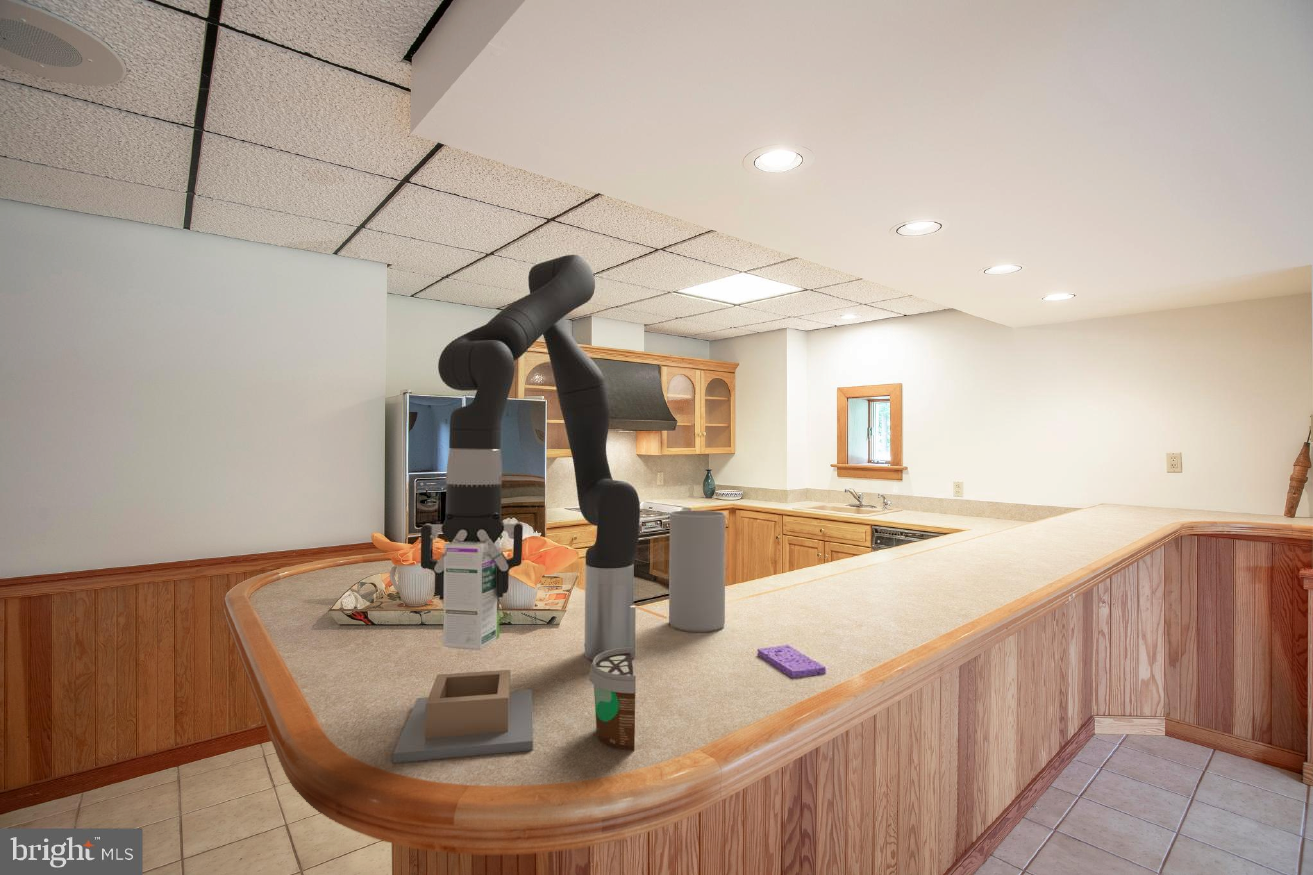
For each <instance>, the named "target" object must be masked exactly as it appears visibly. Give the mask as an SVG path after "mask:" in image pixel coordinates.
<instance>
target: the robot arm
mask: <svg viewBox="0 0 1313 875" xmlns="http://www.w3.org/2000/svg"><path fill="white" fill-rule="evenodd" d="M528 272H529V273H528V277H527V278H528V279H527V280H528V290H529V294H526V295H524V296H523V297H521V298H519V299H517V300H516V301H515V300H514V301H513V302H512V303H510V304H508V305H507V306H506V307H505V308H503V309H501V311H499V312H498V313H497V314H496V315H495V316H493V317H492V318H491V319H490V320H489V321H488V322H487V323H486V324H483V325H482V326H480V327H477V328H474V329H472V330H470V331H469V332H466V333H465V334H462V335H461V336H458V337H457V338H455V339H453V340H452V341H451V342H449V343H448V344H447V345H446V346H445V347H444V348H443V350H442V351H441V353H440V355H439V358H438V363H437V369H438V374H439V377H440V379H441V381H442V382H443V383H444V384H445V385H446V386H447V387H449V388H450V389H453V390H455V391H461V392H463V391H464V392H465V391H467V392H468V391H469V392H470V391H476V392H475V395H474V397H473V399H472V401H471V402H470V403H469V404H467V405H464V406H462V407H458V408H455V409H454V410H452V412H451V414H450V419H449V434H448V435H449V439H448V440H449V442H448V444H449V445H448V447H449V450H448V457H447V463H446V473H445V481H446V488H445V489H446V490H445V491H446V493H445V495H446V496H445V520H444V521H443V523H442V524H440V523H439V524H432V523H430V522H429V523H428V522H427V523H425V524H424V525H423V526H422V527H421V528H420V567H421V568H422V569H424V570H426V569H427V570H430V571H432V572H434V594H435V596H438V597H439V601H440V600H443V601H444V556H447V550H446V551H445V553H444V552H443V554H442V556H441V557H440V559H439V560H437V559H435V558H433V557H434V552H433V551H434V545H433V544H434V540H436V539H437V538H438V537H439V533H441V532H442V534H443V536H444V537H445V538H446V539H447V540H448V543H456V542H463V541H481V542H485V543H488V544H490V545H488V550H489V554H490V555H491V557H492V558H493V559H494V560H495V562H496V563H497V565H498V567H499V568H500V569H499V571H498V597H499V598H504V594H508V591H509V585H510V584H509V583H510V582H509V579H510V578H509V576H510V570H511V569H512V568H515V567H519V566H521V565H522V560H523V559H522V556H523V536H524V535H523V534H524V533H523V531H524V525H523V523H522V522H520V521H517V522H516V523H504V522H503V519H502V490H503V489H502V485H503V484H502V483H503V482H502V481H503V480H502V479H503V462H502V454H501V453H502V452H501V450H502V449H501V446H502V445H501V442H502V441H501V440H502V438H501V436H502V420H503V416H504V413H505V409H506V405H507V402H508V399H509V394H510V391H511V389H512V385H513V382H514V379H515V378H514V377H515V370H516V368H515V367H516V366H515V361H517V360H518V359H520V358H521V357H522V356H523V355H524V354H525V353H526V352H527V351H528V349H530V348H531V347H532V345H534V344H535V342H536V341H537V340H538V339H539V338H541V336H543V339H544V342H545V343H544V344H545V346H546V349H547V353H548V357H549V361H550V364H551V370H552V373H553V377H554V382H555V383H554V384H555V388H556V393H557V397H558V398H557V399H558V402H559V407H560V410H561V416H562V419H563V422H564V427H565V430H566V435H567V436H566V437H567V440H568V445H569V448H570V452H571V458H572V463H573V470H574V476H575V484H576V494H577V502H578V505H579V510H580V512H581V515H582V516H583V518H584V519H585V520H586V521H587V522H588V523H589V524H591V525H593V526H596V537H595V538H596V539H595V542H594V544H593V545H591V546H590V547H588V548H587V549H586V551H585V568H584V569H585V570H584V571H585V575H584V576H585V578H584V580H585V581H584V584H585V585H584V588H585V589H584V643H583V644H584V645H583V647H584V656H585V658H587V659H588V660H591V661H593V660H594V658H595V657H596V656H597V655H599V654H601V653H603V652H605V651H609V650H613V649H618V648H628V647H632V659H635V658H636V610H637V609H636V605H635V604H634V583H635V582H634V578H635V577H634V574H635V573H634V569H635V568H634V566H635V564H634V563H635V555H636V552H637V550H638V547H639V538H640V522H641V521H640V520H641V518H640V516H641V507H640V506H641V503H640V498H639V494H638V492H637V490H636V489H635V487H634V486H633V485H632V484H631V483H628V482H627V481H624V480H615V479H613V476H612V473H611V469H610V465H609V461H608V457H607V456H608V455H607V441H608V435H609V428H610V422H611V403H610V397H609V395H608V390H607V389H608V388H607V384H606V381H605V378H604V374H603V373H602V371H601V369H600V368H599V367H598V365H597V364H596V363H595V362H594V360H593V359H592V358H591V357H590V356H589V355H588V354H587V352H585V350H583V348H582V347H581V346H580V345H579V344H578V343H577V341H576V340H575V338H574V337H573V334H572V333H571V331H570V329H569V326H568V322H567V318H566V316H567V315H568V314H570V313H571V312H573V311H574V310H575V309H578V308H579V307H581V306H583V305H585V304H586V303H588V302H590V300H591V299H592V298H593V296H594V294H595V289H596V282H595V281H596V279H595V275H594V272H593V269H592V267H591V266H590V264H589V262H588V261H587V260H586V259H585V258H584V257H582V256H580V255H577V254H567V255H562V256H560V257H555V258H552V259H550V260H546V261H543V262H539V263H538V264H537V263H536V264H535V265H533V266H532V267H531V268H530V270H529V271H528ZM504 532H506V533H507V537H508V538H509V539H511V540H513V544H512V545H513V548H512V557H509V558H507V557H506V556H505V554H504V553H503V551H502V548H501V547H500V548H499V547H498V548H497V547H496V546H495V544H494V543H495V542H496V540H497V539H498V540H499V538H500V536H501V535H502V534H503V533H504ZM492 549H493V550H492Z"/></svg>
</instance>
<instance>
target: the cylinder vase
mask: <svg viewBox="0 0 1313 875" xmlns="http://www.w3.org/2000/svg"><path fill="white" fill-rule="evenodd" d="M726 515H727V514H726V512H721V511H715V510H714V511H713V510H677V511H676V510H675V511H671V512H669V566H668V568H669V570H668V571H669V573H668V575H669V576H668V579H669V582H668V585H669V586H668V590H669V591H668V592H669V593H668V594H669V596H668V623H669V624H670V626H671V627H673V628H674V629H676V630H679V631H683V632H690V633H710V632H714V631H715V632H716V631H718V630H720V629H722V628H723V627H724V626H725V623H726V532H727V531H726V527H727V526H726V525H727V524H726V523H727V522H726V520H727V519H726Z"/></svg>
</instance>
